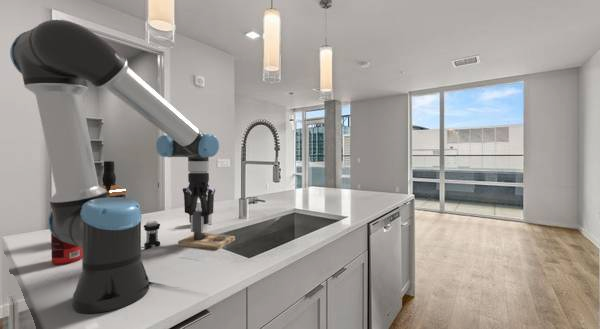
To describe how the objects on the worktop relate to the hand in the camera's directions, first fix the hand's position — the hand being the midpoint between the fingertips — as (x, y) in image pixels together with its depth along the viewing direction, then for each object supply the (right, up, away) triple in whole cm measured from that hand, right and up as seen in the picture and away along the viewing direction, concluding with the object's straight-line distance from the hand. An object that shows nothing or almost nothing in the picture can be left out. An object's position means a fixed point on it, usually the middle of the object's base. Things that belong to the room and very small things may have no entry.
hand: (199, 231), depth 103 cm
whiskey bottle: (-42, -4, +9) cm, 43 cm away
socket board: (+4, -5, -1) cm, 6 cm away
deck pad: (+5, -5, -14) cm, 16 cm away
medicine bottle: (-10, -4, +30) cm, 32 cm away
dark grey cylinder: (0, -4, 0) cm, 4 cm away
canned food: (-36, -5, -17) cm, 40 cm away
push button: (-15, -5, -7) cm, 17 cm away
